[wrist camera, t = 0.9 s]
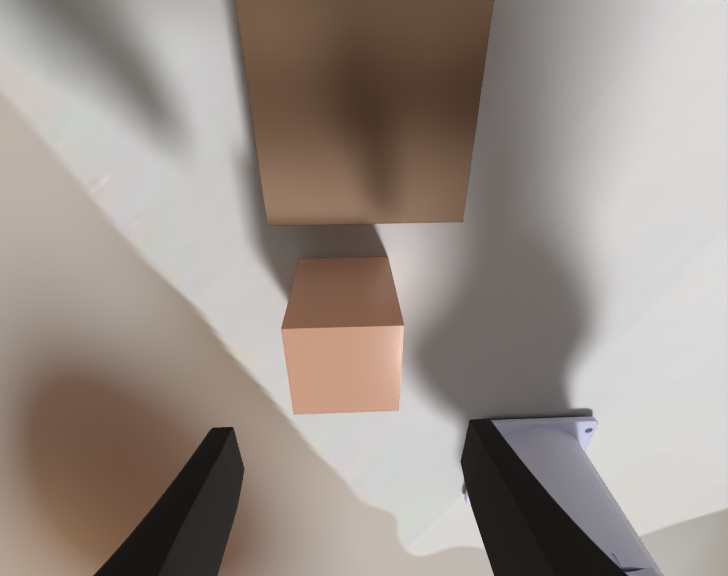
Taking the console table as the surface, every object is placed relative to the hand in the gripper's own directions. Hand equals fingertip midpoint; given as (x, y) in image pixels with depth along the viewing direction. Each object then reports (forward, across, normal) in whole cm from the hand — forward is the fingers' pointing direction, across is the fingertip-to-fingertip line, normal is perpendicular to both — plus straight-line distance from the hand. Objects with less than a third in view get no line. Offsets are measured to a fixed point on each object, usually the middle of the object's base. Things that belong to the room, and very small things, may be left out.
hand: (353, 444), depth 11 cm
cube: (+10, 0, 0) cm, 10 cm away
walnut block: (+10, -1, -9) cm, 13 cm away
